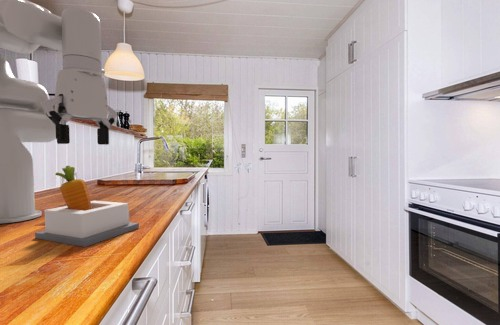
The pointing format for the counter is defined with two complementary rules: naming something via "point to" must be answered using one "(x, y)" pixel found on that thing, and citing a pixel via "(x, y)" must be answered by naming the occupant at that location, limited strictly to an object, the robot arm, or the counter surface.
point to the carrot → (74, 191)
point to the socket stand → (86, 223)
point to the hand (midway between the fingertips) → (84, 144)
